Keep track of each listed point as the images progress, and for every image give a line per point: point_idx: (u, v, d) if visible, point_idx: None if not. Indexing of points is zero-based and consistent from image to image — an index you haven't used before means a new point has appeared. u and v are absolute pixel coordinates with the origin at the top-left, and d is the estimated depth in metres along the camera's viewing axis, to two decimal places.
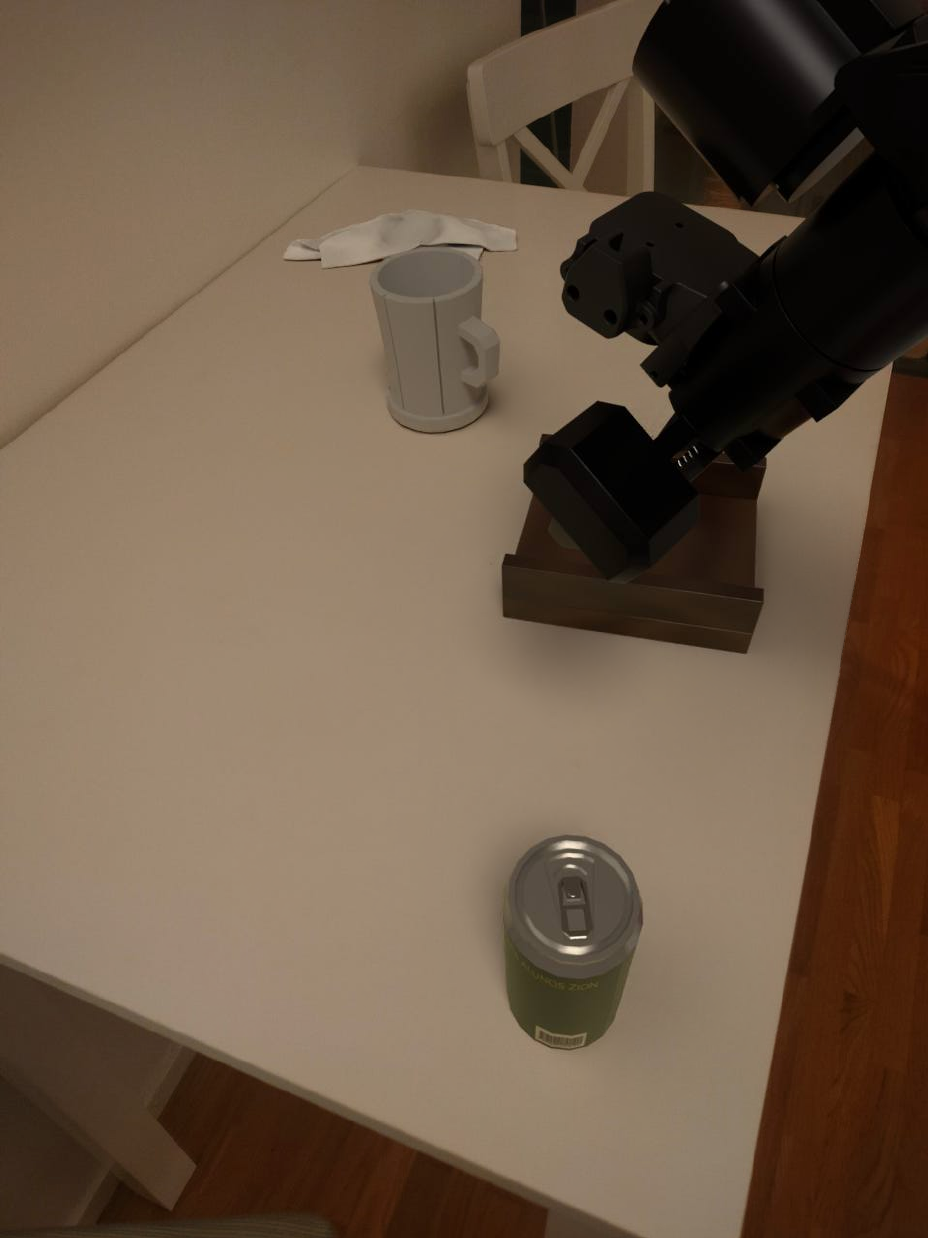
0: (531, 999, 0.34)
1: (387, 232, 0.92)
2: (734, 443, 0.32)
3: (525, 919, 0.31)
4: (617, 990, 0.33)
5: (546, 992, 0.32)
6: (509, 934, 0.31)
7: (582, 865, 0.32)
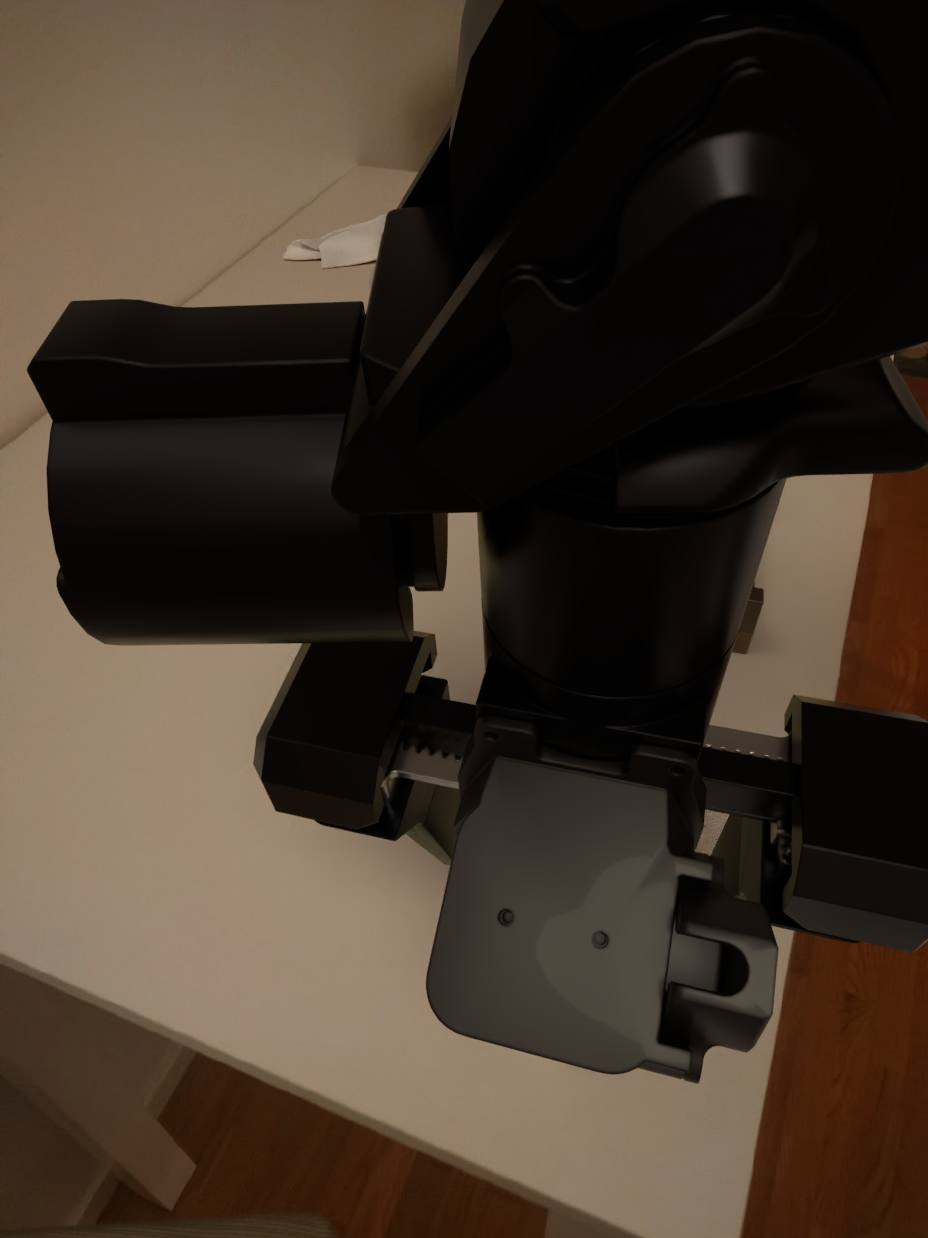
0: None
1: None
2: None
3: None
4: None
5: None
6: None
7: None
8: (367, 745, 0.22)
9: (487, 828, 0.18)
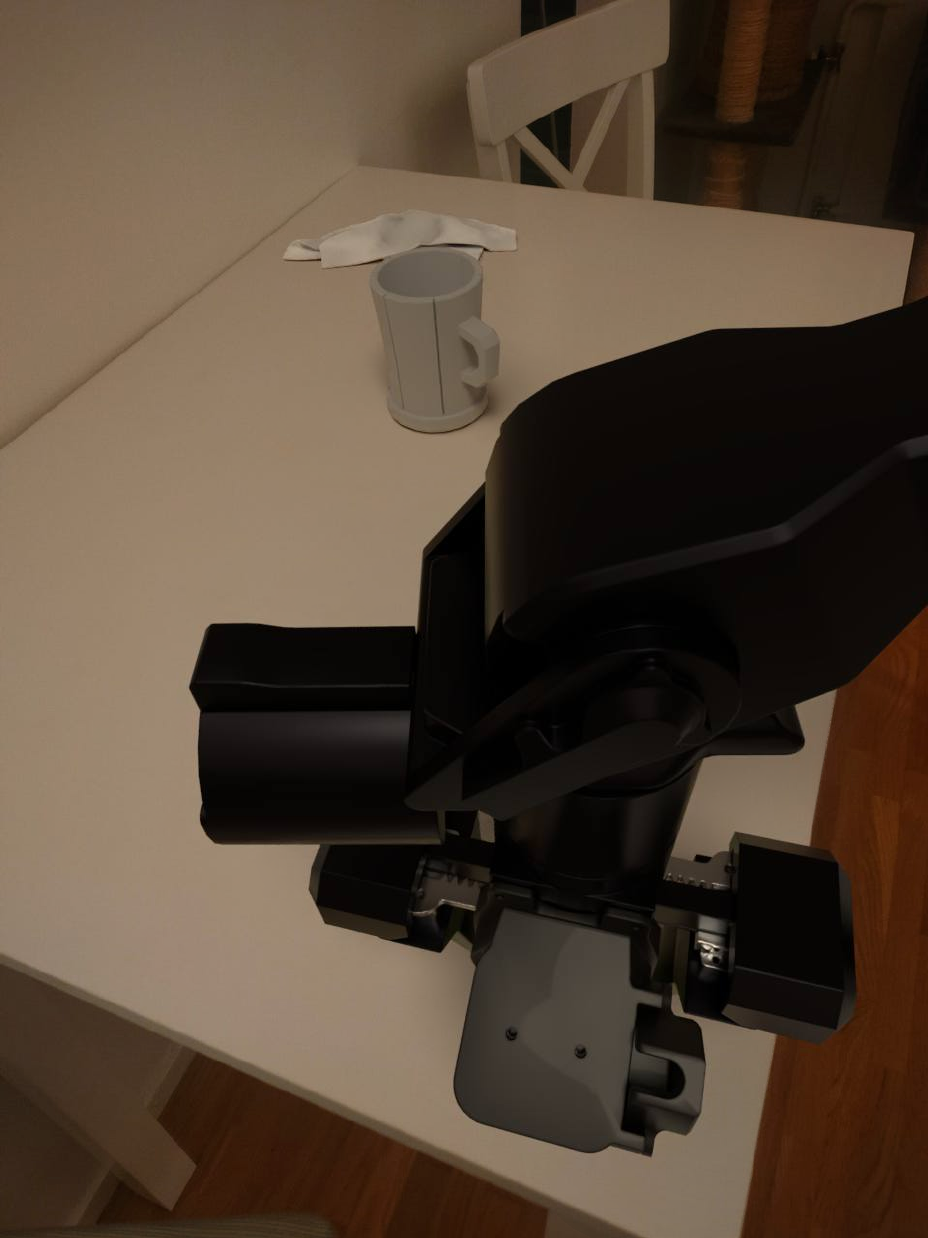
0: None
1: (387, 232, 0.92)
2: None
3: None
4: None
5: None
6: None
7: None
8: (400, 879, 0.29)
9: (497, 965, 0.24)
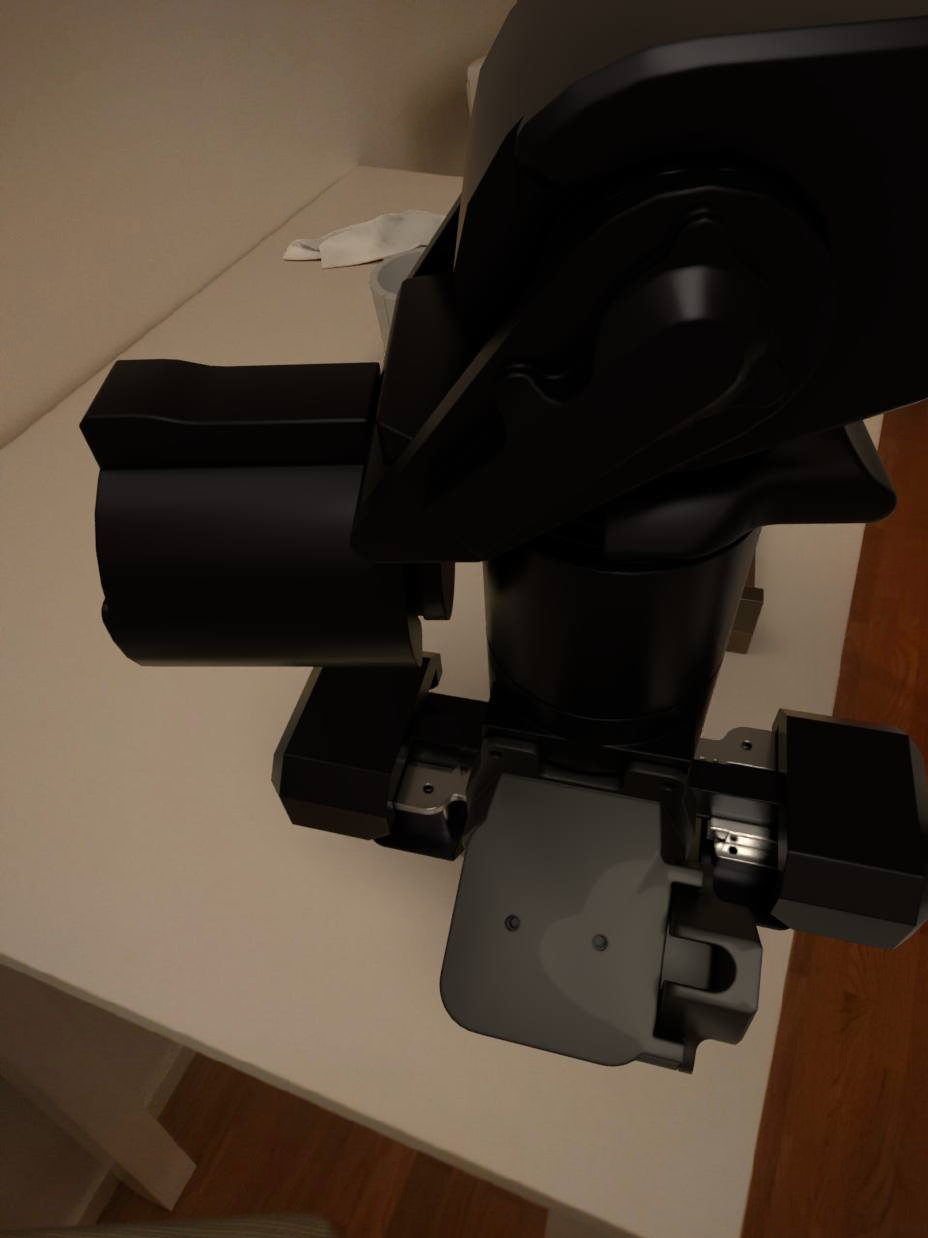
0: None
1: (387, 232, 0.92)
2: None
3: None
4: None
5: None
6: None
7: None
8: (378, 761, 0.24)
9: (494, 840, 0.19)
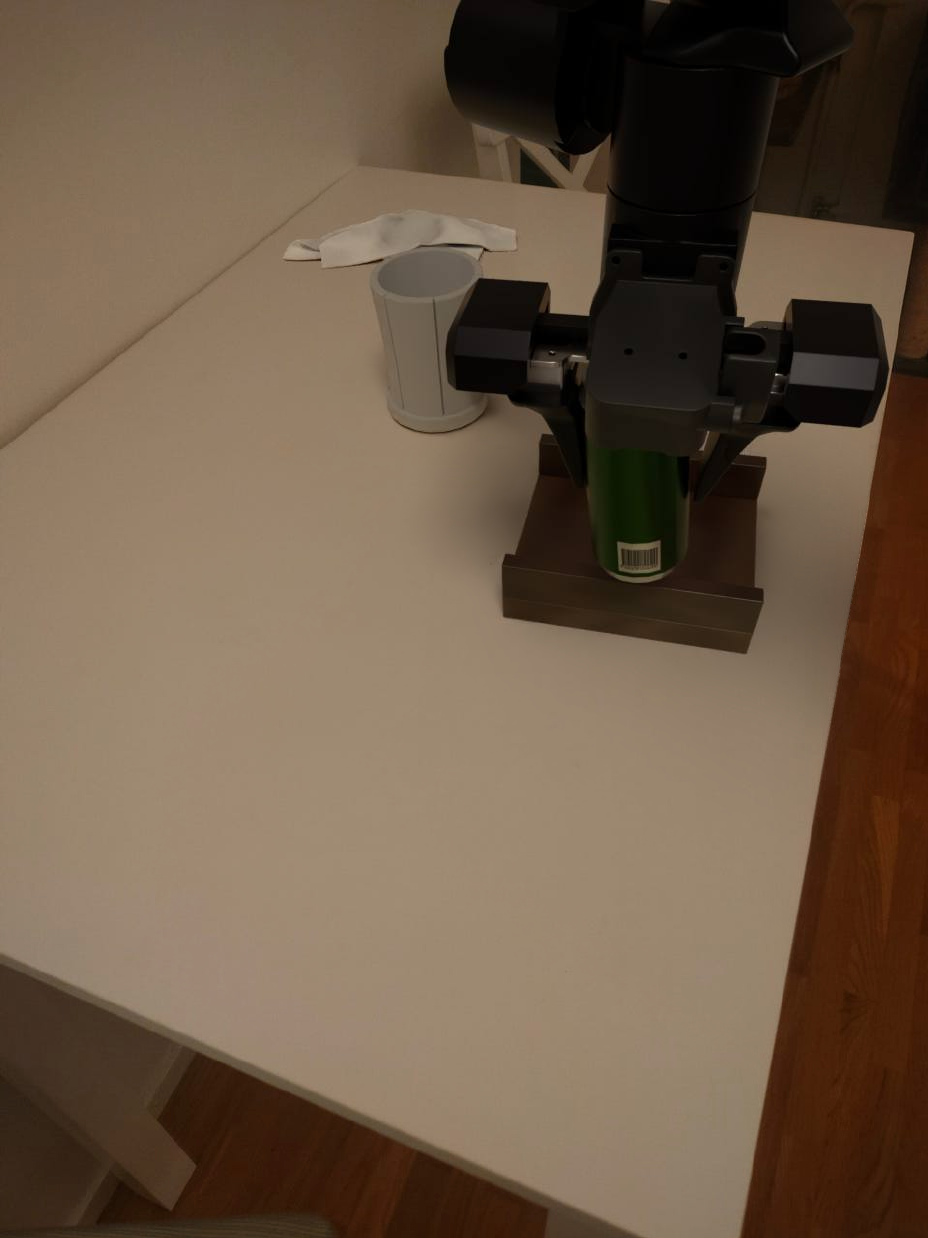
0: (609, 493, 0.41)
1: (387, 232, 0.92)
2: None
3: None
4: (679, 473, 0.40)
5: (619, 463, 0.39)
6: (584, 409, 0.39)
7: None
8: (522, 326, 0.36)
9: (614, 313, 0.32)
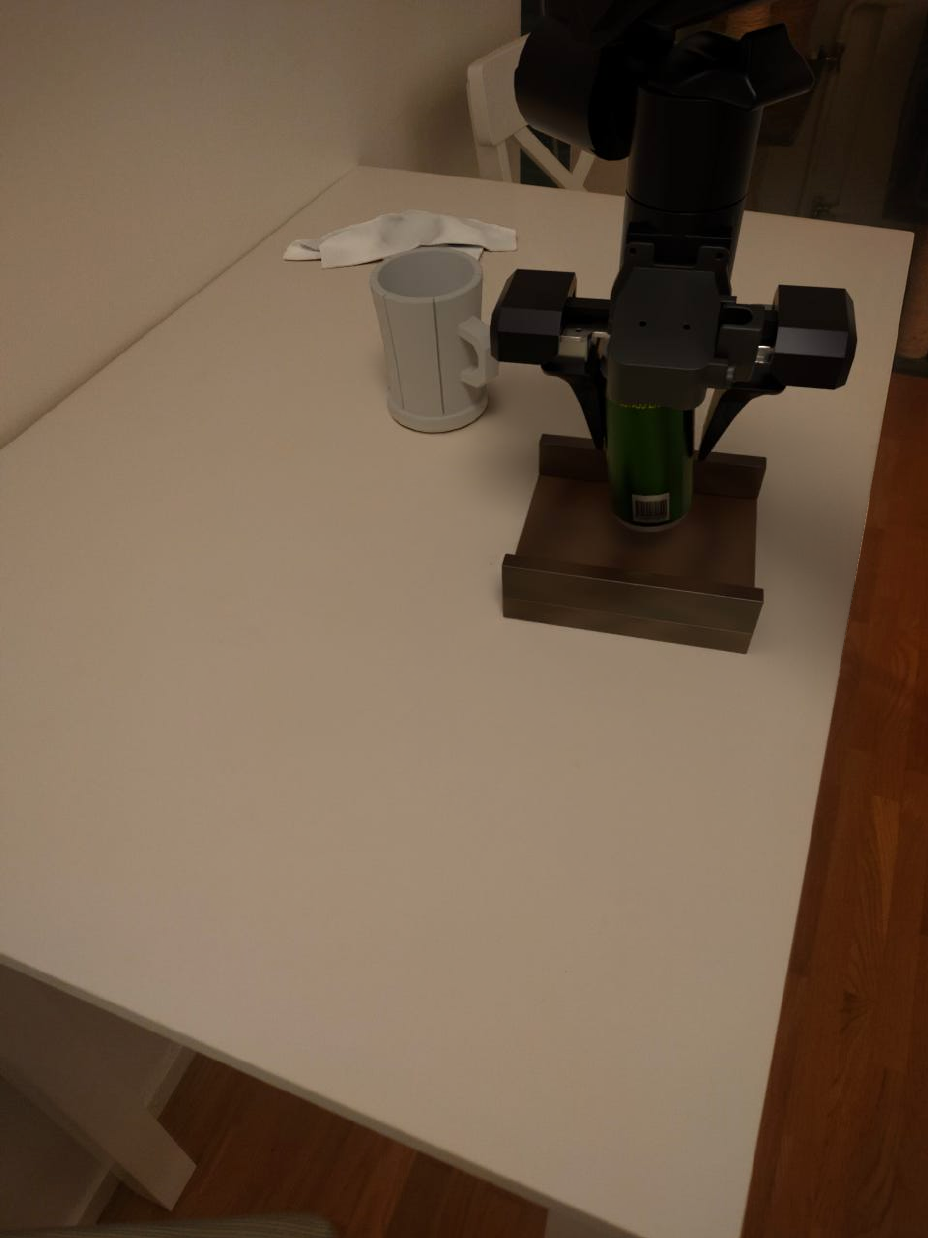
0: (625, 450, 0.48)
1: (387, 232, 0.92)
2: None
3: None
4: (685, 433, 0.48)
5: (634, 424, 0.47)
6: (605, 377, 0.46)
7: None
8: (554, 307, 0.43)
9: (631, 293, 0.39)
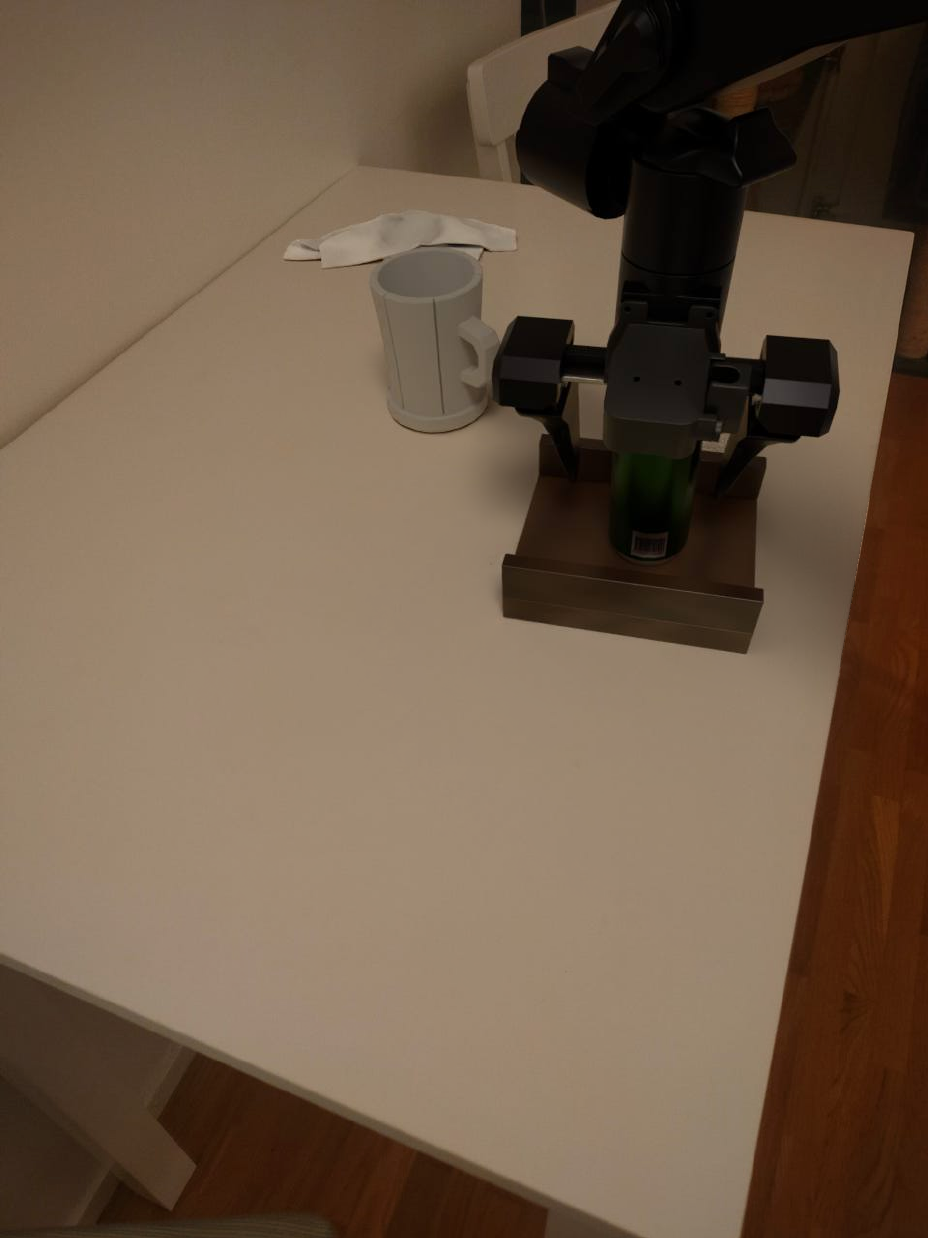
0: (632, 490, 0.50)
1: (387, 232, 0.92)
2: None
3: None
4: (690, 479, 0.50)
5: (644, 468, 0.49)
6: None
7: None
8: (553, 356, 0.46)
9: (626, 349, 0.41)
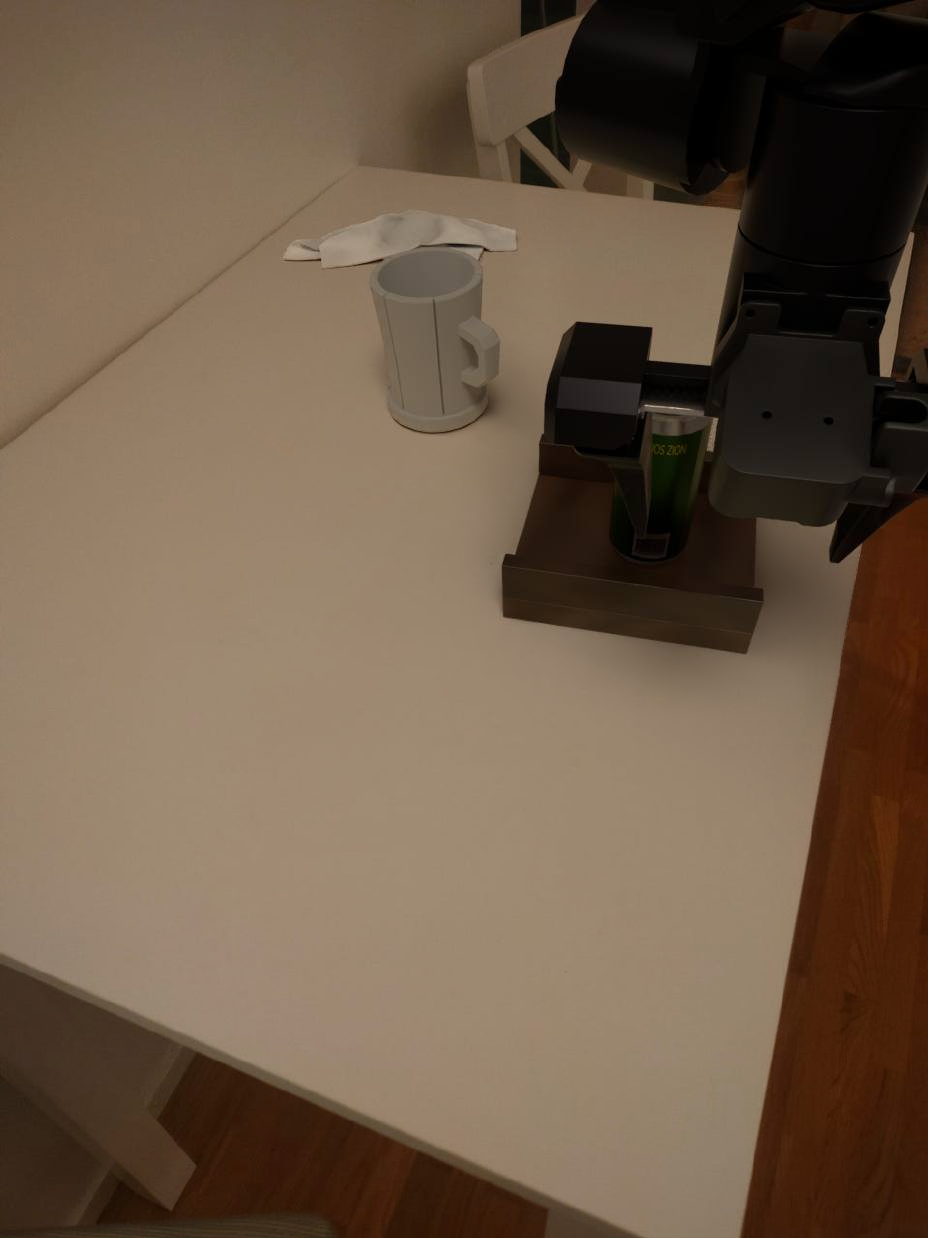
0: None
1: (387, 232, 0.92)
2: None
3: None
4: (694, 480, 0.50)
5: None
6: None
7: None
8: (631, 377, 0.33)
9: (748, 371, 0.29)
